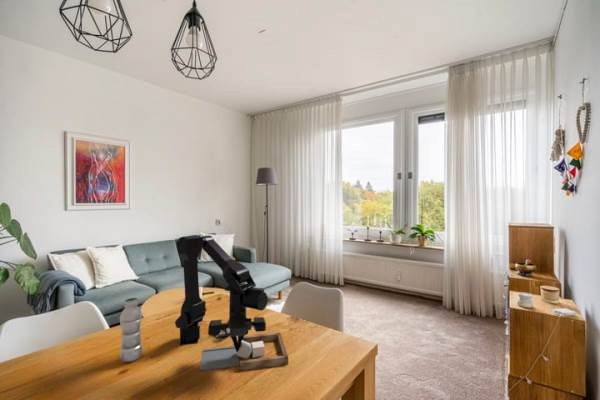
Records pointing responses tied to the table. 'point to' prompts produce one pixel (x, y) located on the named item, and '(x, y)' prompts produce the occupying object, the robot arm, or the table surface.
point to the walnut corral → (270, 360)
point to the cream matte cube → (244, 349)
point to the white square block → (258, 349)
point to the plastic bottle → (131, 331)
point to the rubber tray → (219, 358)
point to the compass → (221, 334)
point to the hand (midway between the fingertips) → (237, 351)
